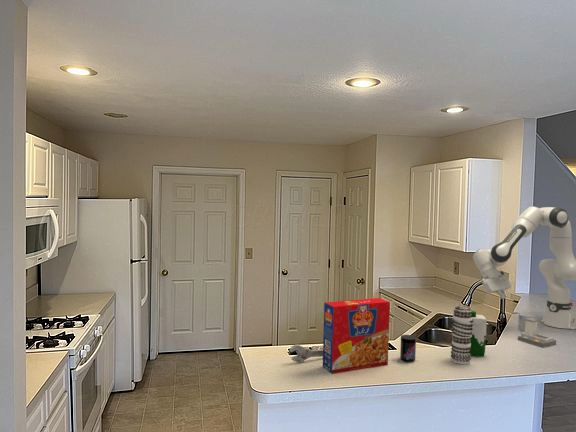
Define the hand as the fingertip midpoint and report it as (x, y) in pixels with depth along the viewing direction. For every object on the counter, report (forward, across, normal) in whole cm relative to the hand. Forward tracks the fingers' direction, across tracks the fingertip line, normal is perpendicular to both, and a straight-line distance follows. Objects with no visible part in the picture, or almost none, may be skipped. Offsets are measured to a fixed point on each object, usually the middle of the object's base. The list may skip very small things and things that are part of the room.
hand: (504, 298), depth 241 cm
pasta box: (+10, -107, +13) cm, 108 cm away
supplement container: (+14, -81, +8) cm, 83 cm away
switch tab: (+23, -2, -3) cm, 23 cm away
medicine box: (+19, +14, +7) cm, 25 cm away
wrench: (+2, -116, +25) cm, 118 cm away
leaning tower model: (+22, -61, -2) cm, 65 cm away
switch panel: (+26, -2, -4) cm, 27 cm away
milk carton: (+22, -47, 0) cm, 51 cm away
